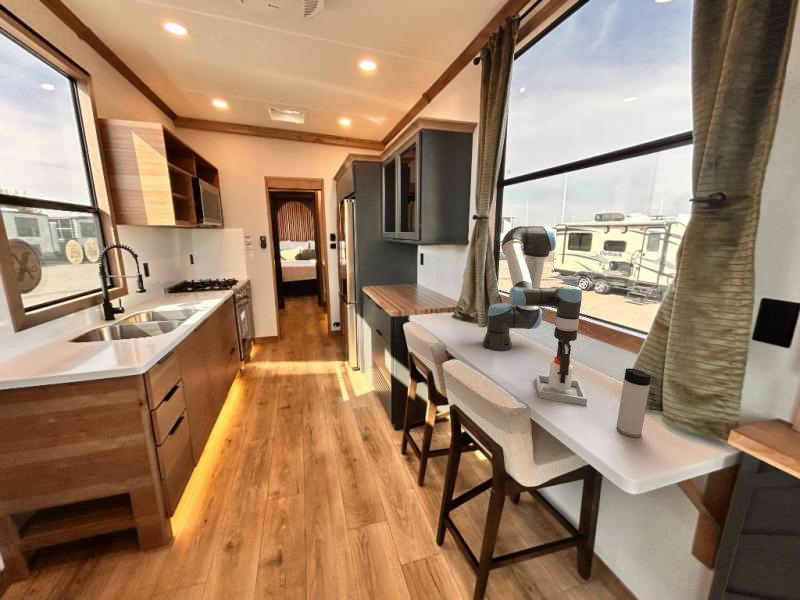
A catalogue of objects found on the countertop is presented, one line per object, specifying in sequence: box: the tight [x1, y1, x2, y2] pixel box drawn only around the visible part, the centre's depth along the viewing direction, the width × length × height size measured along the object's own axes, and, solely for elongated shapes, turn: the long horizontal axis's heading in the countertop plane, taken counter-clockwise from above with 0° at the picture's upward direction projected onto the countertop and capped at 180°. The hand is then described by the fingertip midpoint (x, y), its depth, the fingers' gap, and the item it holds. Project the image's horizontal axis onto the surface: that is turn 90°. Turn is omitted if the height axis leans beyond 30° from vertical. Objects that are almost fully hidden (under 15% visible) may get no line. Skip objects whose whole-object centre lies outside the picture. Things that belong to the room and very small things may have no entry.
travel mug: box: [616, 367, 652, 438], centre depth 95 cm, size 6×7×20 cm
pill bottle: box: [547, 355, 574, 391], centre depth 121 cm, size 8×8×11 cm
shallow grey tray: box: [535, 374, 588, 406], centre depth 122 cm, size 16×16×2 cm
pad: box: [542, 384, 576, 396], centre depth 122 cm, size 11×11×1 cm
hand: (559, 385), depth 122 cm, fingers closed on pill bottle, 8 cm apart
